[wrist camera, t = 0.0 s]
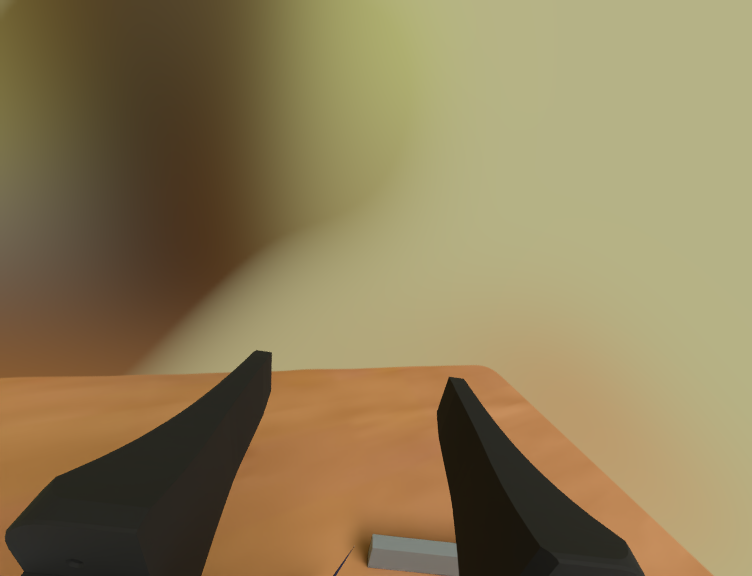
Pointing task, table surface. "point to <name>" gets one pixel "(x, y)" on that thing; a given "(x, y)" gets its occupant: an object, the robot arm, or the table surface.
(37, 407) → the table surface
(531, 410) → the table surface
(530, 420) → the table surface
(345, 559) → the toy airplane
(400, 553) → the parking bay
